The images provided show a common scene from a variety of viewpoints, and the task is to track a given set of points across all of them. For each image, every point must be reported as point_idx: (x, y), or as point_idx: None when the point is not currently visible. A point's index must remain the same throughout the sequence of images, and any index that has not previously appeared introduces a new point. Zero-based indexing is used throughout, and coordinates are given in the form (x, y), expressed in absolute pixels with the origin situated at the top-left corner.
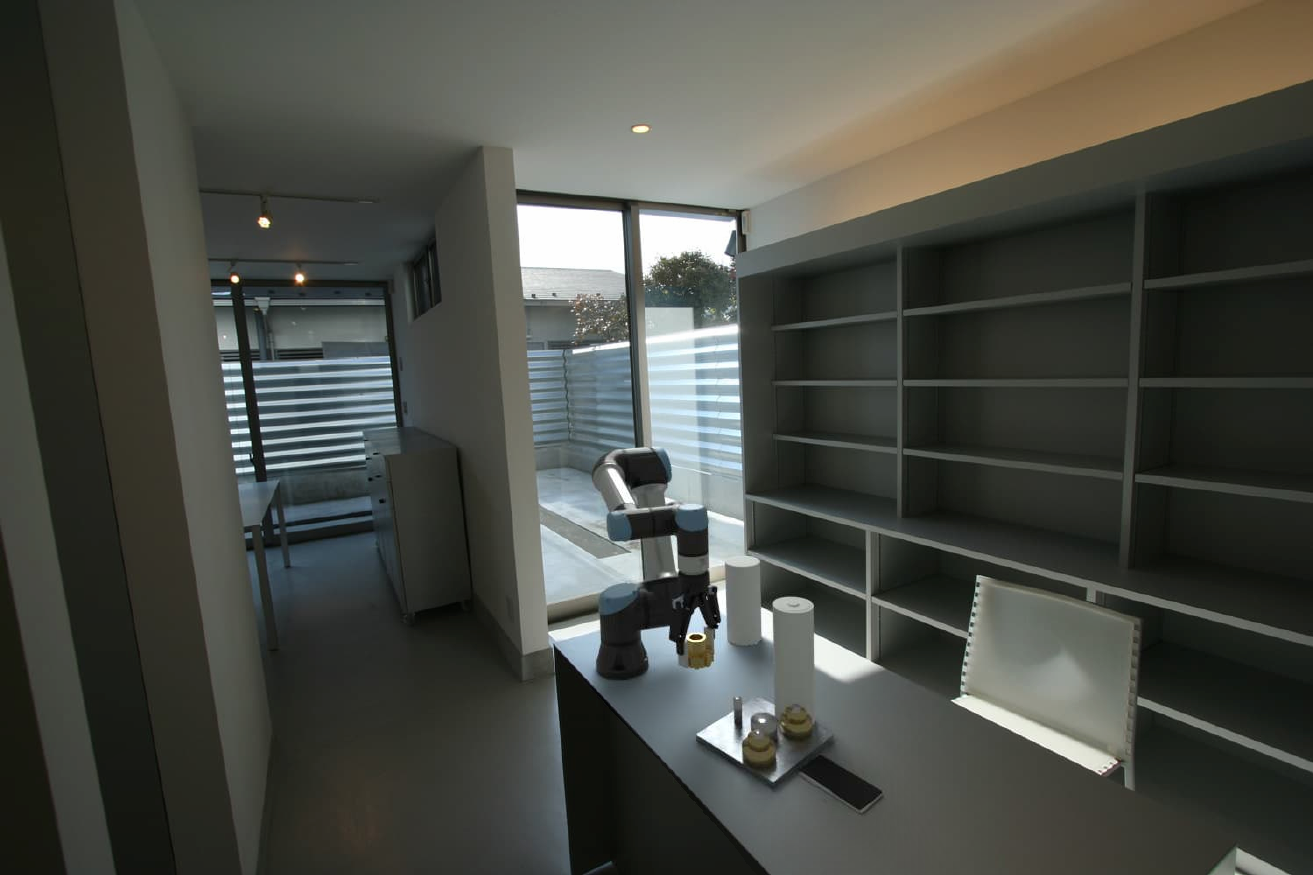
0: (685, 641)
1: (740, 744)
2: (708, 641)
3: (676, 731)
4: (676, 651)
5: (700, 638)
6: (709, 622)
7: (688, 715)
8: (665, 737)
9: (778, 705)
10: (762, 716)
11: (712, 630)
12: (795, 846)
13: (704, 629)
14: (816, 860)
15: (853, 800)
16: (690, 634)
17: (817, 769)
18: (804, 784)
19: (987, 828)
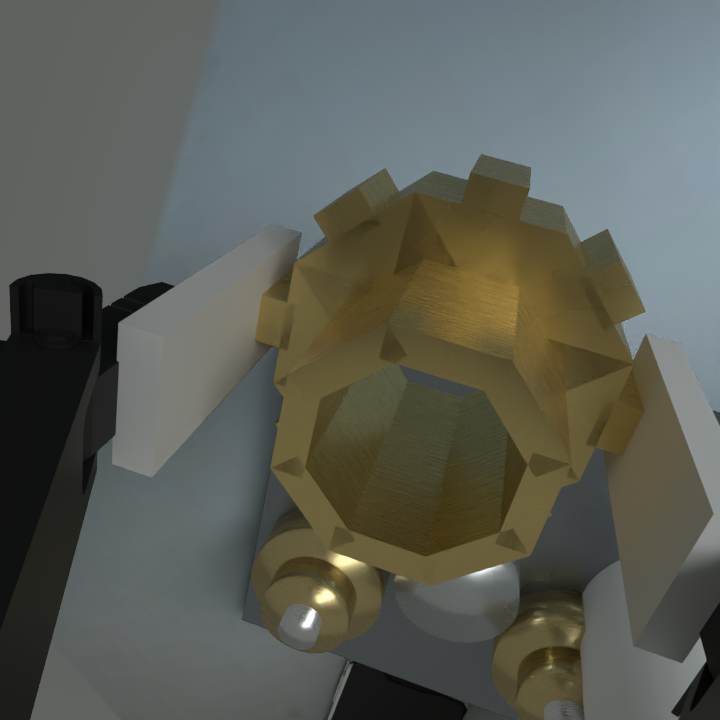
0: (140, 448)
1: None
2: (636, 467)
3: (317, 170)
4: (132, 294)
5: (516, 456)
6: (690, 715)
7: (471, 149)
8: (248, 147)
9: (601, 631)
10: (480, 584)
11: (651, 645)
12: (120, 671)
13: (696, 502)
14: (119, 707)
15: None
16: (449, 361)
17: (390, 702)
18: (321, 668)
19: None
